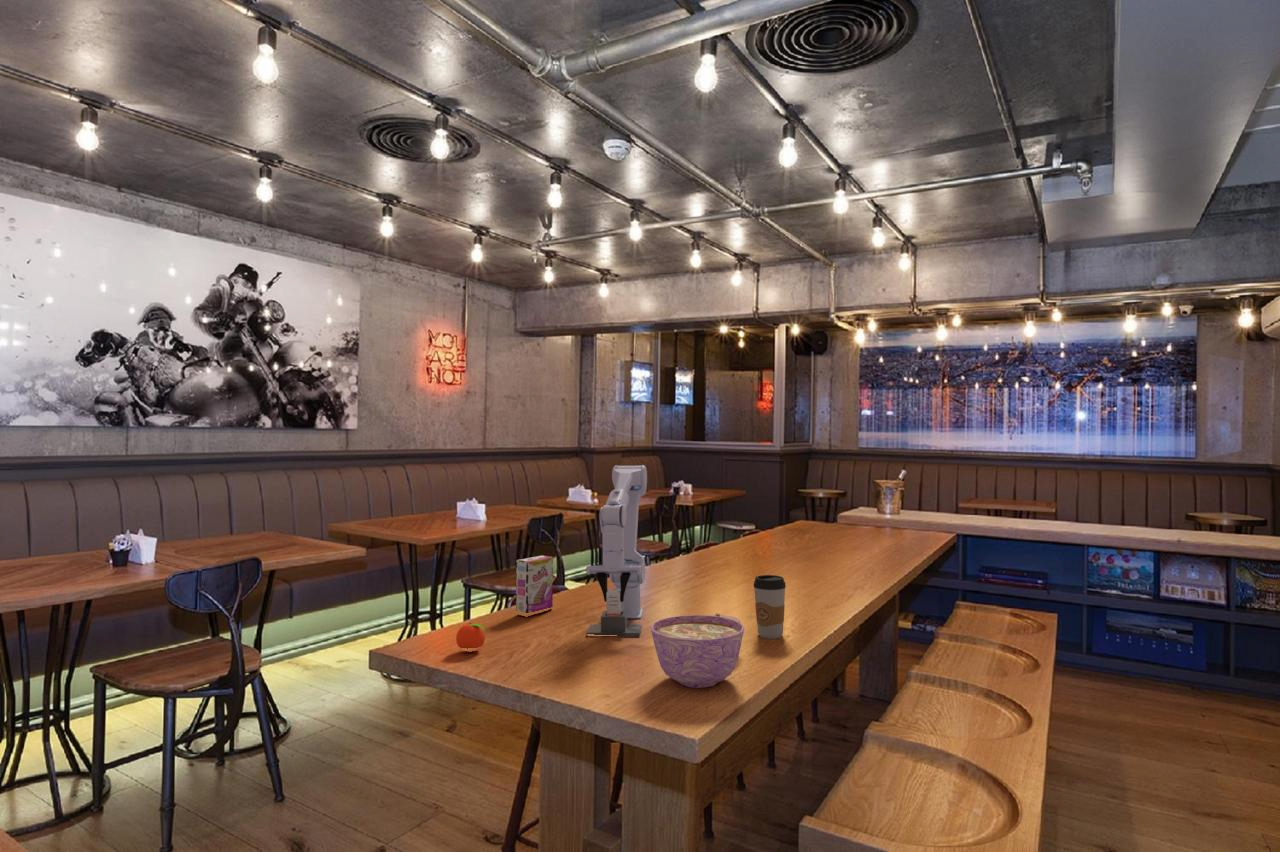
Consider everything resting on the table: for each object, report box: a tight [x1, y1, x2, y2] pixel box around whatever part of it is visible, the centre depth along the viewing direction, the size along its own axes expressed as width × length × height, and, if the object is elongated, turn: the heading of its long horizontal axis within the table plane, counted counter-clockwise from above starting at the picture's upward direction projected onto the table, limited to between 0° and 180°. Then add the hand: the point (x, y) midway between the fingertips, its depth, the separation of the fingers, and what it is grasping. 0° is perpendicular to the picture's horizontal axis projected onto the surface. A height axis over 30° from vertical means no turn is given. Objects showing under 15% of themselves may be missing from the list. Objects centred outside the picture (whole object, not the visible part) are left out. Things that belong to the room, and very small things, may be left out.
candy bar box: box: [515, 555, 554, 613], centre depth 212 cm, size 11×5×16 cm, turn 144°
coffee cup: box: [753, 574, 787, 640], centre depth 184 cm, size 8×8×15 cm
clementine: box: [455, 622, 488, 649], centre depth 174 cm, size 8×7×7 cm
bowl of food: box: [650, 614, 745, 689], centre depth 151 cm, size 20×20×12 cm
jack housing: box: [585, 610, 643, 638], centre depth 189 cm, size 8×14×5 cm, turn 86°
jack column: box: [606, 588, 622, 616], centre depth 189 cm, size 4×4×8 cm
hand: (614, 600), depth 190 cm, fingers closed on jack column, 4 cm apart
